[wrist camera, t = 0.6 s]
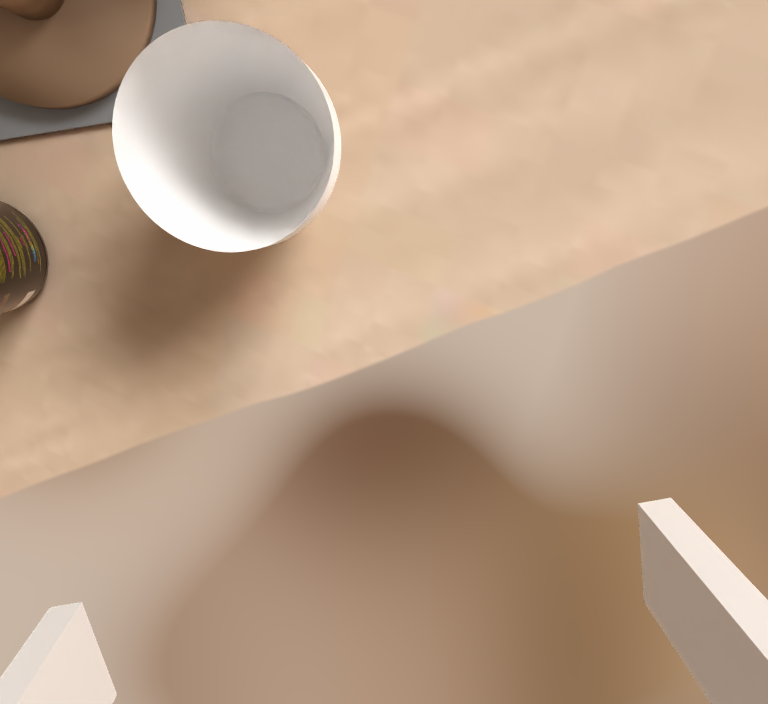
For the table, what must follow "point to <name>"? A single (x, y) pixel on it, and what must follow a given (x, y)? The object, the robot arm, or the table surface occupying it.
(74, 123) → the mat
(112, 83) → the lid
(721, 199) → the table surface
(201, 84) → the cup
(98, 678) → the robot arm
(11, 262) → the supplement container
